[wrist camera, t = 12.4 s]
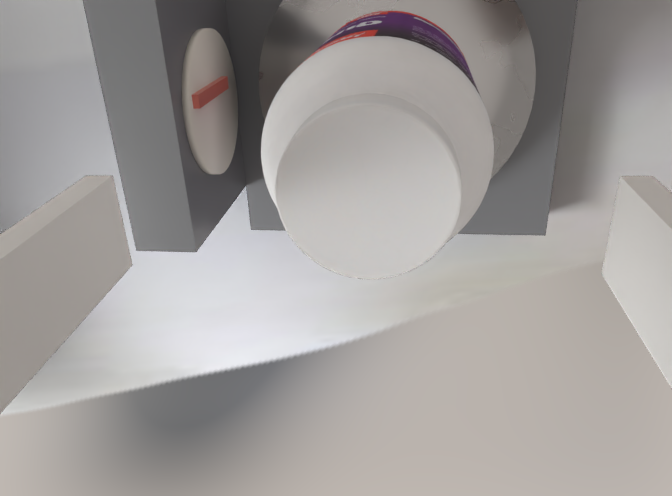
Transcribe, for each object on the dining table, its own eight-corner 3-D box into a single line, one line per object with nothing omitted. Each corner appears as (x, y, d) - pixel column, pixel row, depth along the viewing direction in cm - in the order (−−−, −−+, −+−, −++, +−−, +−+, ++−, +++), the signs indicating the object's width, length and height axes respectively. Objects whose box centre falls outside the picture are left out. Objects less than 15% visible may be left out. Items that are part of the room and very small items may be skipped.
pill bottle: (379, -30, 27) (344, -19, 14) (504, 81, 29) (573, 180, 16) (281, 104, 31) (182, 209, 18) (397, 197, 32) (383, 355, 19)
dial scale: (219, 210, 40) (147, 303, 29) (178, -93, 32) (58, -115, 21) (536, 215, 37) (583, 319, 27) (578, -115, 29) (669, -153, 19)
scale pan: (278, 201, 36) (270, 216, 34) (256, -56, 29) (244, -57, 27) (514, 204, 34) (520, 220, 32) (543, -69, 28) (553, -71, 26)
